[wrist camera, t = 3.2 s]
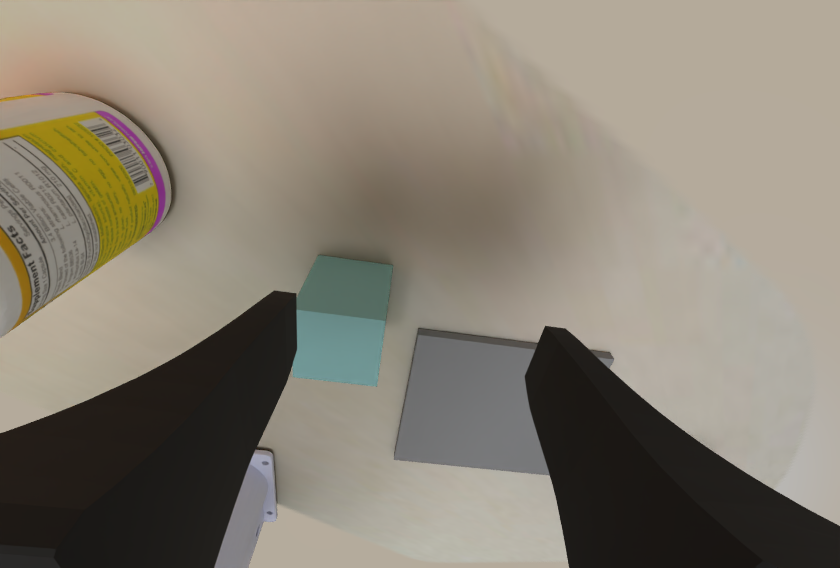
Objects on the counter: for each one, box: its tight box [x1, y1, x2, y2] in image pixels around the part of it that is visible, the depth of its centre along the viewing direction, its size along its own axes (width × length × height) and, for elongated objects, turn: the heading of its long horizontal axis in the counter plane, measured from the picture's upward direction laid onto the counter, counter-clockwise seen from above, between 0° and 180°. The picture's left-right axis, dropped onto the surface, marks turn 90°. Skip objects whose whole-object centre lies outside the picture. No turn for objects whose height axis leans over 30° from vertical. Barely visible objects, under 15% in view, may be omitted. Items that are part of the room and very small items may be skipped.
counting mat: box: [394, 329, 614, 475], centre depth 26 cm, size 12×12×1 cm
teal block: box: [293, 255, 393, 387], centre depth 20 cm, size 4×4×5 cm
